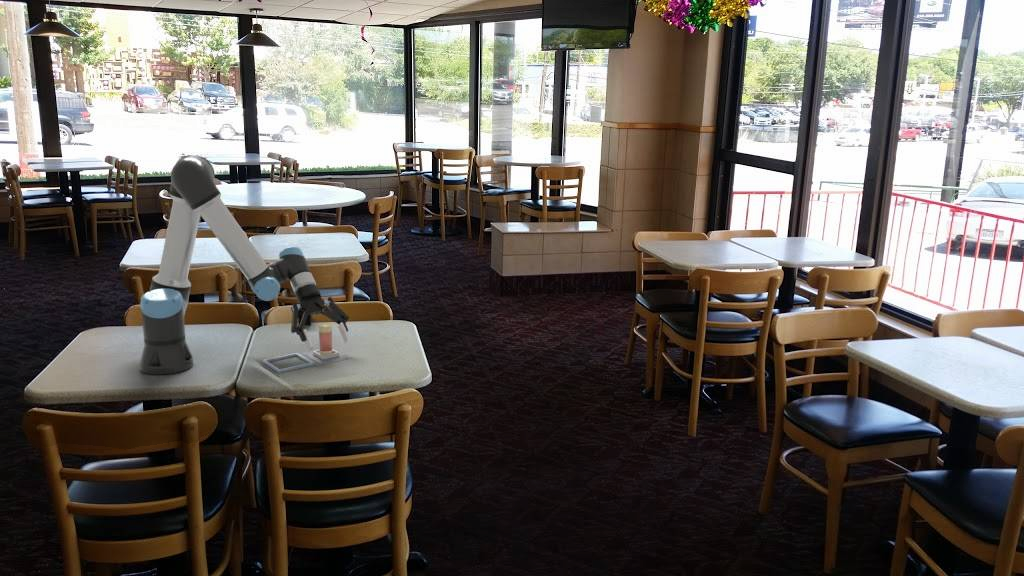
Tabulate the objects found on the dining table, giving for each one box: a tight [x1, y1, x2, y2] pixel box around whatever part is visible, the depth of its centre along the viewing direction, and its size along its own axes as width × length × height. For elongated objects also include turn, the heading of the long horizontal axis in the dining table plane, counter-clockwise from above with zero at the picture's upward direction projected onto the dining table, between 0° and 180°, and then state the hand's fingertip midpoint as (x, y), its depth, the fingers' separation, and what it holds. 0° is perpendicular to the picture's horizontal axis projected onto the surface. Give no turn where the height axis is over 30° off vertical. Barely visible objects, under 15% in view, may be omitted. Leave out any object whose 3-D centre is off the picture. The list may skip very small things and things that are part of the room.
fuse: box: [318, 323, 334, 355], centre depth 253 cm, size 4×4×10 cm
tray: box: [261, 352, 315, 378], centre depth 246 cm, size 12×12×2 cm
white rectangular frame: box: [301, 347, 351, 365], centre depth 254 cm, size 10×14×3 cm
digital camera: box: [298, 308, 313, 327], centre depth 293 cm, size 10×5×7 cm, turn 11°
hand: (329, 345), depth 251 cm, fingers open, 12 cm apart
